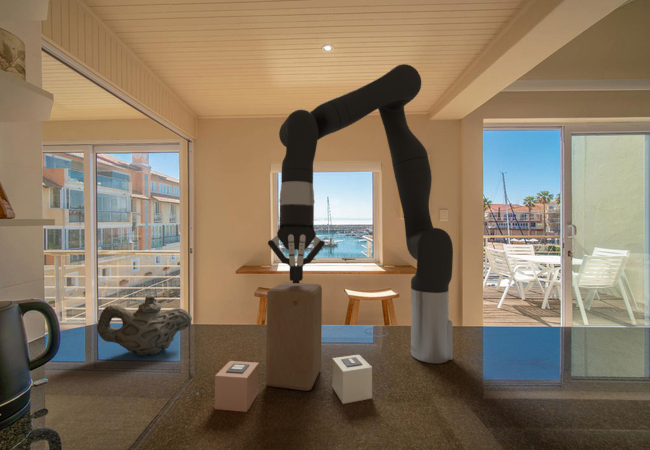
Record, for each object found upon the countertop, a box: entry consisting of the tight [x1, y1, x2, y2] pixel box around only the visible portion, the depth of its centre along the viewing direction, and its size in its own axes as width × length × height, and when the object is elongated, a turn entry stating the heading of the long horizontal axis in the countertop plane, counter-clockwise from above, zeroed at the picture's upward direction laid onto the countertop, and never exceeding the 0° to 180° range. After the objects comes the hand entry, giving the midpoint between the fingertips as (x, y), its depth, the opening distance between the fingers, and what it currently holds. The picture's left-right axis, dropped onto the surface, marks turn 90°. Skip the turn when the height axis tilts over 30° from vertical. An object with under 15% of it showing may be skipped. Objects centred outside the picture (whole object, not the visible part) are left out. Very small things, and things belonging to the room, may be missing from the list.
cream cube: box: [331, 354, 373, 405], centre depth 57 cm, size 6×6×6 cm
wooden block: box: [265, 281, 323, 392], centre depth 63 cm, size 10×10×20 cm
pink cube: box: [214, 360, 260, 413], centre depth 54 cm, size 6×6×6 cm
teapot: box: [96, 295, 193, 356], centre depth 75 cm, size 21×12×15 cm, turn 115°
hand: (295, 282), depth 63 cm, fingers closed
